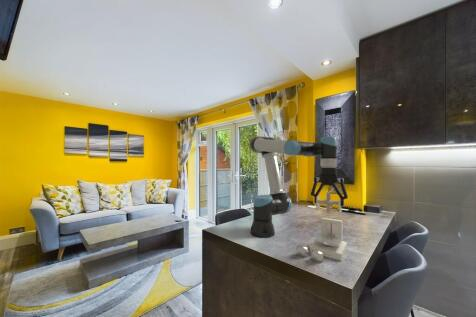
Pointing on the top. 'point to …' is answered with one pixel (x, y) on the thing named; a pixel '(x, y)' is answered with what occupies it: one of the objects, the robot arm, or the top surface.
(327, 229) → the scale base
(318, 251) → the cylinder
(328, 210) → the cream toy jack
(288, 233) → the top surface
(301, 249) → the cylinder
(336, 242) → the pan
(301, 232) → the top surface
